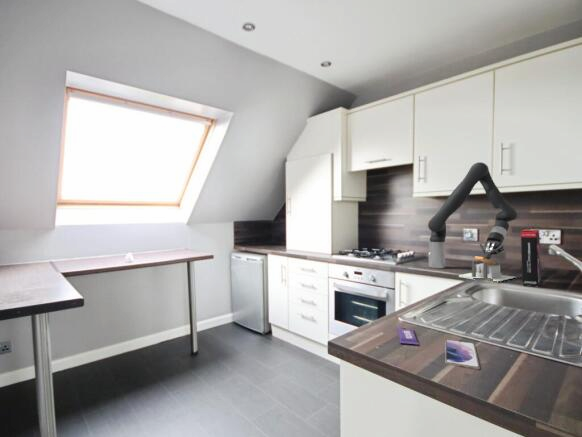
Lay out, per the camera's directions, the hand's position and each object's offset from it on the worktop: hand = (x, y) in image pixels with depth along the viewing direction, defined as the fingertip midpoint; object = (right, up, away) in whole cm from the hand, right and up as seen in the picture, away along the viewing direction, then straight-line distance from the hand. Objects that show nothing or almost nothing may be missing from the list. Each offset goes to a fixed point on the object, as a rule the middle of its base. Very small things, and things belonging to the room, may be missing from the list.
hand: (486, 258), depth 170 cm
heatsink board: (+1, -11, +1) cm, 11 cm away
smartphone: (-65, -13, -93) cm, 114 cm away
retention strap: (+6, -3, +4) cm, 8 cm away
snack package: (-75, -13, -81) cm, 111 cm away
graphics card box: (+13, -11, -15) cm, 23 cm away
